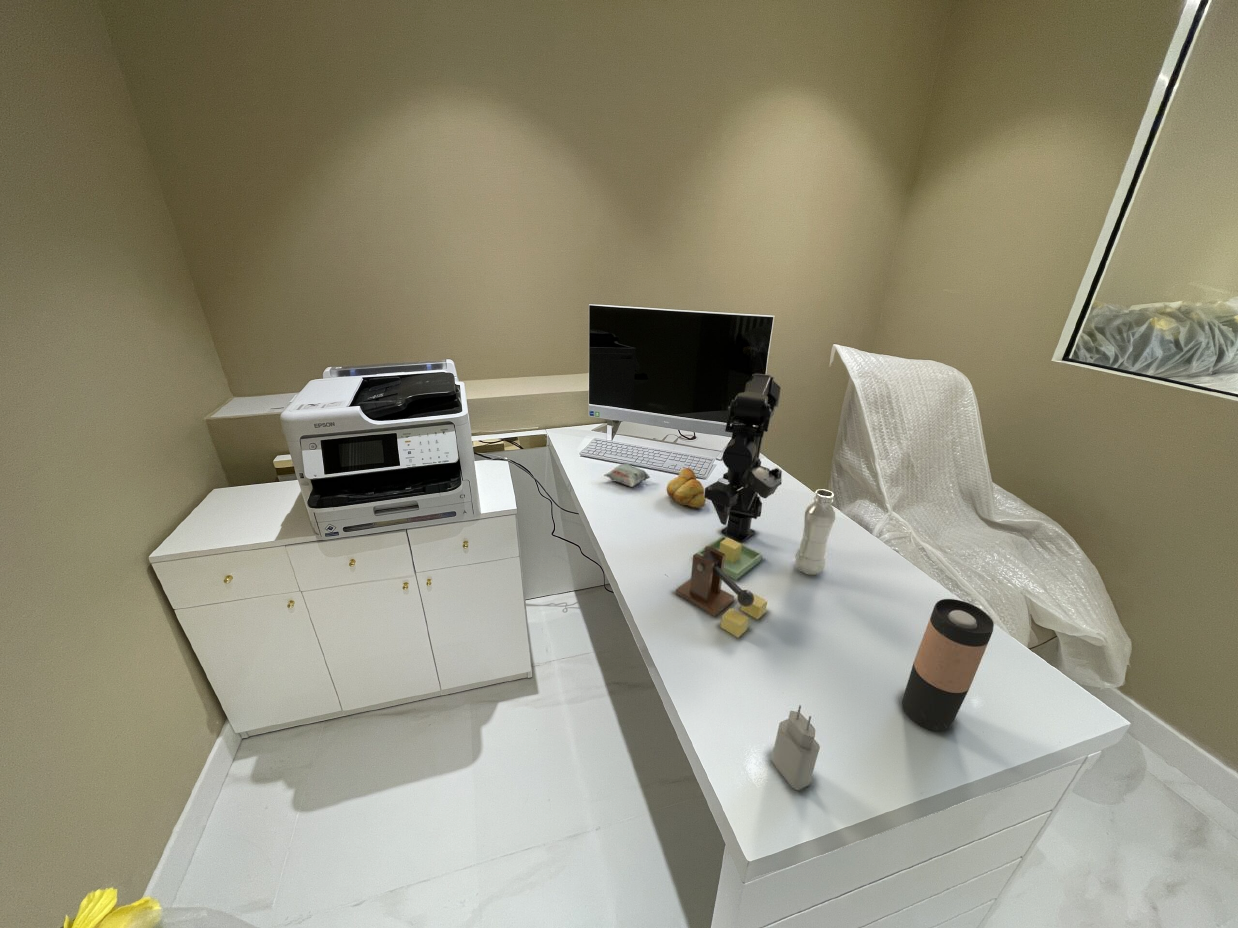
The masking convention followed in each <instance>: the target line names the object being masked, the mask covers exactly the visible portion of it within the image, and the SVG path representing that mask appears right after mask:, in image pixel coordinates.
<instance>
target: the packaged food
mask: <svg viewBox="0 0 1238 928" xmlns="http://www.w3.org/2000/svg"><path fill="white" fill-rule="evenodd" d="M603 477H606V478H609V479H610V480H612V481H615V482H618V483H621V484H622V485H625V486H628V487H634V486H636V485H638V484H640V483H642V482H644V481H646V480H648V479H650V478H651V476H650V475H649V474H648V473H647V472H646V471H645V470H644V469H642V468H639V467H636V466H633V465H631V464H628V463H621V464H619V465H617V466H616V467H614V468H613V469H611V470H610V472H606V473H604V474H603Z"/></svg>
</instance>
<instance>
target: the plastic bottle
mask: <svg viewBox="0 0 1238 928" xmlns="http://www.w3.org/2000/svg"><path fill="white" fill-rule="evenodd" d="M833 499H834V492H832V491H830V490H828V489H821V488H820V489H816V491H815V493H814V497H813V500H814V501H813V502H811V503H810V504H809V505H808V506H806V509H805V510H804V519H803V521H804V522H803V533H802V538H801V542H800V544H799V547H798V549H797V552H796V554H795V558H794V559H795V561H794V562H795V566H796V567H797V569H798V571H800V572H801V573H803V574H806V575H812V576H814V575H818V574H820V573H821V572H823V570H824V568H825V566H826V551H827V543H828V540H829V537H830V533H831V531H832V528H833V527H834V524H835V521H836V511H835V510H834V507H833V506H832V504H833V503H834V500H833Z"/></svg>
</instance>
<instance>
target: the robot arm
mask: <svg viewBox="0 0 1238 928" xmlns="http://www.w3.org/2000/svg"><path fill="white" fill-rule="evenodd" d="M781 389H782V388H781V386H780V385H779V384H778V383H777V382H776V381H775V377H774V376H773V375H771V374H763V373H752V374H751V378H750V380H749V381H747V382H746V383H745V388H744V391H743V392H738V394H736V396H735V398H734V399H732V400H731V402H730V407H729V410H728V411H729V412H728V414H727V415H728V416H727V419H726V424H725V429H724V432H726V433H731V439H730V440H729V441H728V443H727V446H725V449H724V451H723V453H722V462H723V464H724V466H725V467H726V468H727V472H725V473H723V474H722V479H723V480H726V481H727V482H728V483H724V482H721V481H719V480H717V481H715V482H713V483H712V484H709V485H707V486H706V487H704V494H703V495H704V497H705V498H706V500H708V501H710V502H711V503H712V505H713V507H714V510H715V512H716V514H717V517H718V520H719V522H720V524H721V525H724V526H726V527H724V528H722V529H721V531H720V532H721V533H722V534H724V535H726V536H728V537H729V538H733V539H735V540H736V541H738V542H740V543H743V542H745V541H746V540H748V539H749V538H750V537H752V536H753V535H755V534H756V530H754V529H752V528H751V526H752V521H753V519H754V520H757V519H758V518H760V517H761V516H762V510H763V502H762V500H761V498H762V499H767V498H769V497H770V496H771V495H774V493H776V491H777V489H778V488H779V487H780V486H781V485H782V482H783V479H782V473H783V471H782V470H781V469H780V468H779V467H777V466H776V467H774V468H772V469H770V468H768V467H765V466H762V461H761V458H760V456H761V455H760V454H761V449H762V444H763V439H764V436H765V432H766V433H768V431H769V427H770V423H771V422H770V421H771V419H772V417H773V416H774V415H775V410H776V408H779V405H780V399H781Z"/></svg>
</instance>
